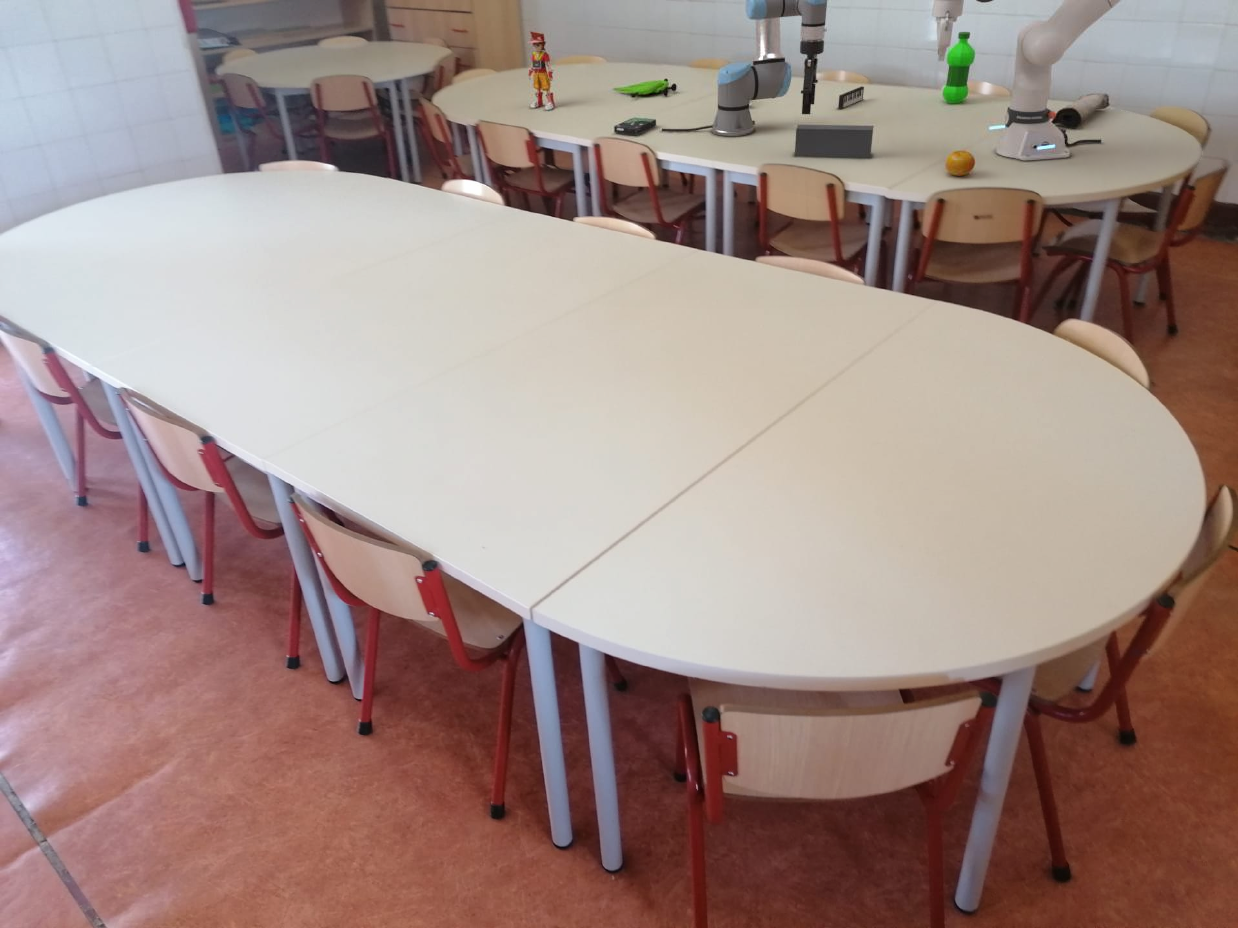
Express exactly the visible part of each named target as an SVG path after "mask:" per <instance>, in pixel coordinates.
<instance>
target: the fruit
mask: <svg viewBox="0 0 1238 928" xmlns="http://www.w3.org/2000/svg"><path fill="white" fill-rule="evenodd" d="M975 165H976V160H975V157H974V155H973V154H972V153H971V152H970V151H967V150H955V151H953V152H951V153H950V154H949V155H948V156H947V158H946V159H945V163H944V166H945V169H946V172H948V173H949V174H950V175H952V176H957V177H961V176H966V175H968V174H970V173H971V172H972V170H974V168H975Z"/></svg>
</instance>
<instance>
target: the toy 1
mask: <svg viewBox="0 0 1238 928" xmlns="http://www.w3.org/2000/svg"><path fill="white" fill-rule="evenodd" d="M529 33H530V35H531V36H528V37H527V38H528V39H529V40H528V41H527V43H529V44H530V43H531V44H532V48H533V50H534V51H533V52H532V55H531V58H530V59H531V63H530V66H528V74H527V75H528V76H527V77H528V79H529V80H531V75H532V74H533V84H532V85H533V86H532V87H533V88H534V89H535V90H536V92H534V95H535V97H536V100H535V101H533V102H531V105H530V108H531V109H535V108H538V107H542V106H544V101H543V100H544V99H543V95H544V92H546V94H545V97H546V99H547V103H546V104H545V106H544V110H546V111H549V110H553V109H554V107H555V106H556V105H555V99H554V92H551V91H550V90H551V86H552V84H551V82H552V81H553V80H554V77H553V73H554V71H555V70H554V69H552V68H551V63H550V61H551V59H550V58H551V57H550V54H549V53H548V52H547V50H546V48H545V46H546V44H547V41H545V35H544V33H543V32H542V33H539V32H535V31H529Z"/></svg>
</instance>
